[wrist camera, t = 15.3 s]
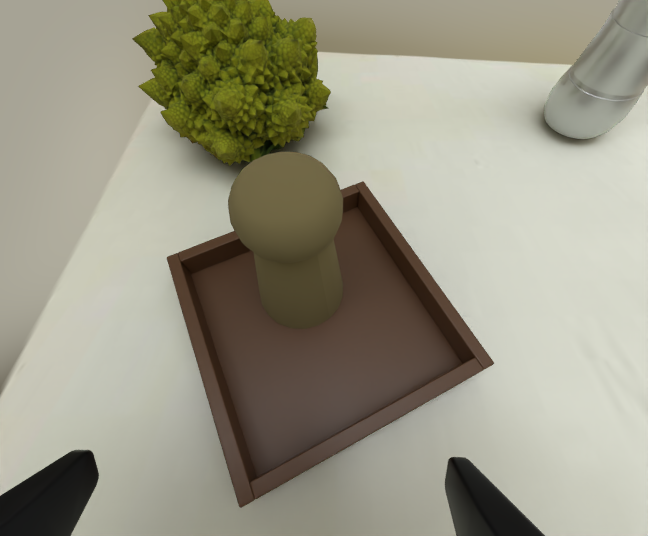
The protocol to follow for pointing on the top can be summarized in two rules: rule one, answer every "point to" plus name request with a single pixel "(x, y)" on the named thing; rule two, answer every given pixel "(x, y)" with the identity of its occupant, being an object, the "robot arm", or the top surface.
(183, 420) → the top surface
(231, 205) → the cork
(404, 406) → the tray
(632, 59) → the plastic bottle
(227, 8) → the vegetable
